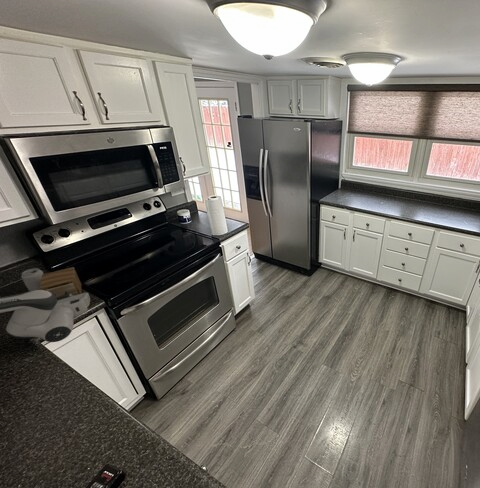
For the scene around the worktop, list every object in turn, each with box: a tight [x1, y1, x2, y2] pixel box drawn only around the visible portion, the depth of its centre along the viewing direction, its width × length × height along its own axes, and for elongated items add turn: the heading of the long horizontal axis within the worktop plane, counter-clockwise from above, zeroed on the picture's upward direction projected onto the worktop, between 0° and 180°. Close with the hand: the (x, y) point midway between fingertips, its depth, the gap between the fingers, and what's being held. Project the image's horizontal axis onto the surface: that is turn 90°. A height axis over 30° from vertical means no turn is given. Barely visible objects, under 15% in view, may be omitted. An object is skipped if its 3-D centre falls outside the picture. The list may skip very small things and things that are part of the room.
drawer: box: [45, 282, 78, 300], centre depth 128 cm, size 19×11×9 cm, turn 40°
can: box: [20, 267, 44, 291], centre depth 134 cm, size 8×8×12 cm
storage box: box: [40, 266, 83, 295], centre depth 132 cm, size 15×12×11 cm
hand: (60, 297), depth 122 cm, fingers closed on drawer, 5 cm apart
